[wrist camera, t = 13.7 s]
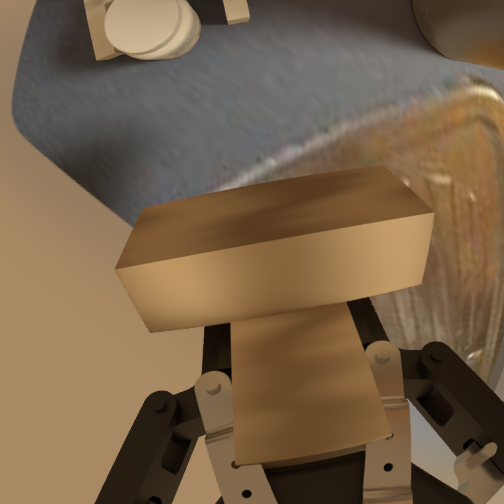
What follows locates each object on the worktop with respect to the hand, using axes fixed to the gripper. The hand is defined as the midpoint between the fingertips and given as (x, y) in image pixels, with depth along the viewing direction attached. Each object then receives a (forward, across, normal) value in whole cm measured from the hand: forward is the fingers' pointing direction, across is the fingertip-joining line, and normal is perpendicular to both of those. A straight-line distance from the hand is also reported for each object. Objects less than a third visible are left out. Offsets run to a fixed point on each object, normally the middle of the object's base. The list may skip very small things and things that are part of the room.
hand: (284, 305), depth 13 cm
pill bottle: (+15, +4, -14) cm, 21 cm away
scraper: (+2, 0, -1) cm, 2 cm away
